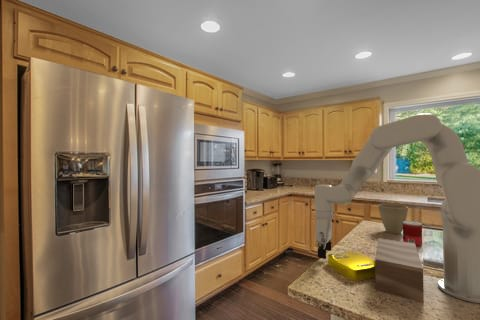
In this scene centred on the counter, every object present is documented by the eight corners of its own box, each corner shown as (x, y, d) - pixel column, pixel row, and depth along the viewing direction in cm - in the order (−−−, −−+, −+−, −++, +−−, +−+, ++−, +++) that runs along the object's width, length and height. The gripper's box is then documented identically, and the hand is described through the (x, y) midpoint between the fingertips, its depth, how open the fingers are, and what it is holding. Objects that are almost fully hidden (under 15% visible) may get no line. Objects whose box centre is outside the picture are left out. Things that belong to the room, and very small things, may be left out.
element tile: (352, 282, 81) (351, 269, 81) (325, 264, 96) (325, 253, 96) (385, 276, 85) (385, 263, 85) (355, 260, 100) (355, 249, 100)
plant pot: (395, 228, 144) (395, 203, 145) (415, 235, 130) (414, 207, 130) (373, 229, 143) (372, 203, 144) (390, 236, 129) (389, 208, 129)
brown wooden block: (378, 262, 97) (378, 237, 97) (415, 269, 90) (414, 243, 90) (375, 290, 76) (375, 259, 76) (423, 302, 69) (423, 268, 69)
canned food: (426, 246, 113) (425, 224, 113) (410, 246, 113) (409, 224, 113) (414, 241, 121) (414, 220, 121) (399, 241, 121) (399, 220, 121)
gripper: (320, 209, 106) (320, 245, 106) (309, 216, 92) (310, 259, 91) (337, 210, 102) (338, 249, 102) (329, 219, 87) (329, 263, 87)
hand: (324, 254), depth 97 cm, fingers open, 9 cm apart
